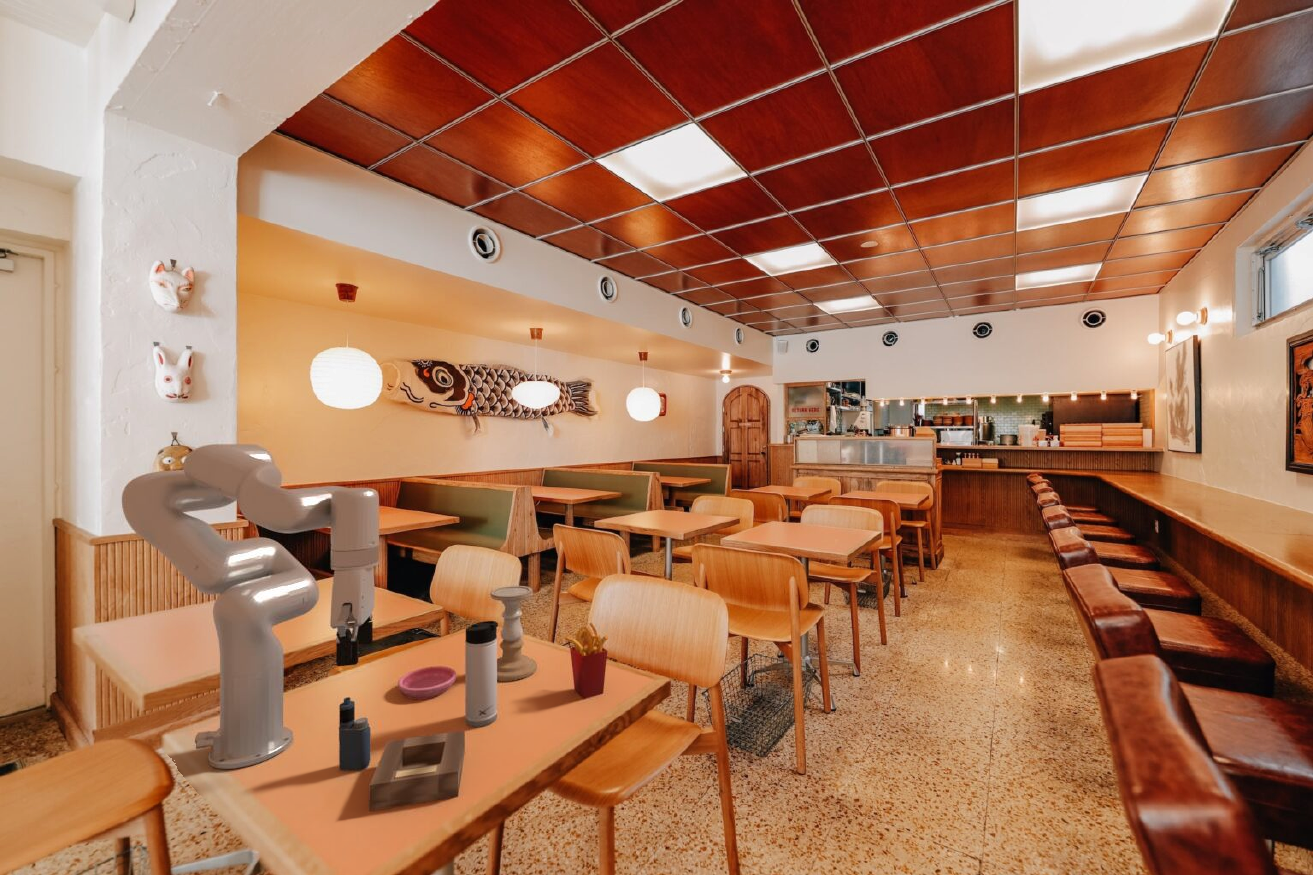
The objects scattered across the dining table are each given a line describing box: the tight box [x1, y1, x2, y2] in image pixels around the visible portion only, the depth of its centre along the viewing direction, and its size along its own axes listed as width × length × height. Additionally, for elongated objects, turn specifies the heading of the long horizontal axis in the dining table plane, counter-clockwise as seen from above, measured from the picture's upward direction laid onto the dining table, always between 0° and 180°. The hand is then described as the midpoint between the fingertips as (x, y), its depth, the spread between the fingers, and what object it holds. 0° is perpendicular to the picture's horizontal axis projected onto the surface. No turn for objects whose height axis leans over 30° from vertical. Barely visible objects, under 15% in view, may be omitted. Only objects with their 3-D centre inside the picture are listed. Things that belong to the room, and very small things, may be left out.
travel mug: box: [464, 620, 499, 728], centre depth 111 cm, size 6×7×20 cm
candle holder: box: [489, 585, 538, 682], centre depth 135 cm, size 12×12×20 cm
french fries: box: [565, 622, 609, 700], centre depth 124 cm, size 9×8×15 cm
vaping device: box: [338, 696, 371, 771], centre depth 95 cm, size 3×5×12 cm, turn 88°
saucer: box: [397, 665, 457, 700], centre depth 125 cm, size 12×12×3 cm
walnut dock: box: [368, 729, 466, 812], centre depth 92 cm, size 13×13×4 cm
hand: (355, 654), depth 95 cm, fingers open, 9 cm apart
